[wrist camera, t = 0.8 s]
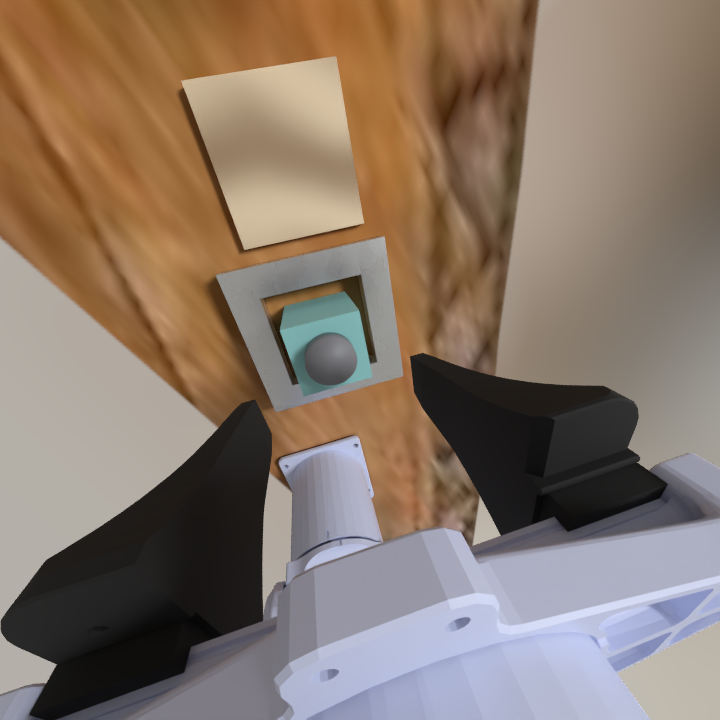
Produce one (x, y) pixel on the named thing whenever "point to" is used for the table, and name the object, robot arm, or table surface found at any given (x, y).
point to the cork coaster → (279, 149)
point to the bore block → (301, 272)
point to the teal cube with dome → (325, 342)
